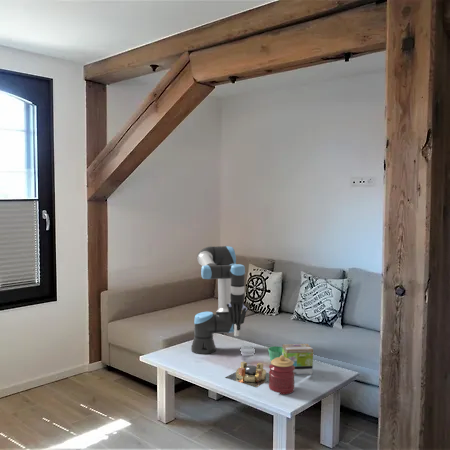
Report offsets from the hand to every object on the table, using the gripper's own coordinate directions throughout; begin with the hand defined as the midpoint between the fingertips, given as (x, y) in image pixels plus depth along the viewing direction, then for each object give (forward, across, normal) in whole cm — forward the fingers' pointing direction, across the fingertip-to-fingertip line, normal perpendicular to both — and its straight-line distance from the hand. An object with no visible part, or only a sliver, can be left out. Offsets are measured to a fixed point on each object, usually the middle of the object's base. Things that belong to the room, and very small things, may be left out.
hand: (236, 335), depth 265 cm
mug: (+22, -13, -25) cm, 35 cm away
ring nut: (+20, -11, +1) cm, 23 cm away
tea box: (+21, -26, -22) cm, 40 cm away
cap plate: (+21, -11, +1) cm, 24 cm away
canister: (+21, -31, +3) cm, 37 cm away
